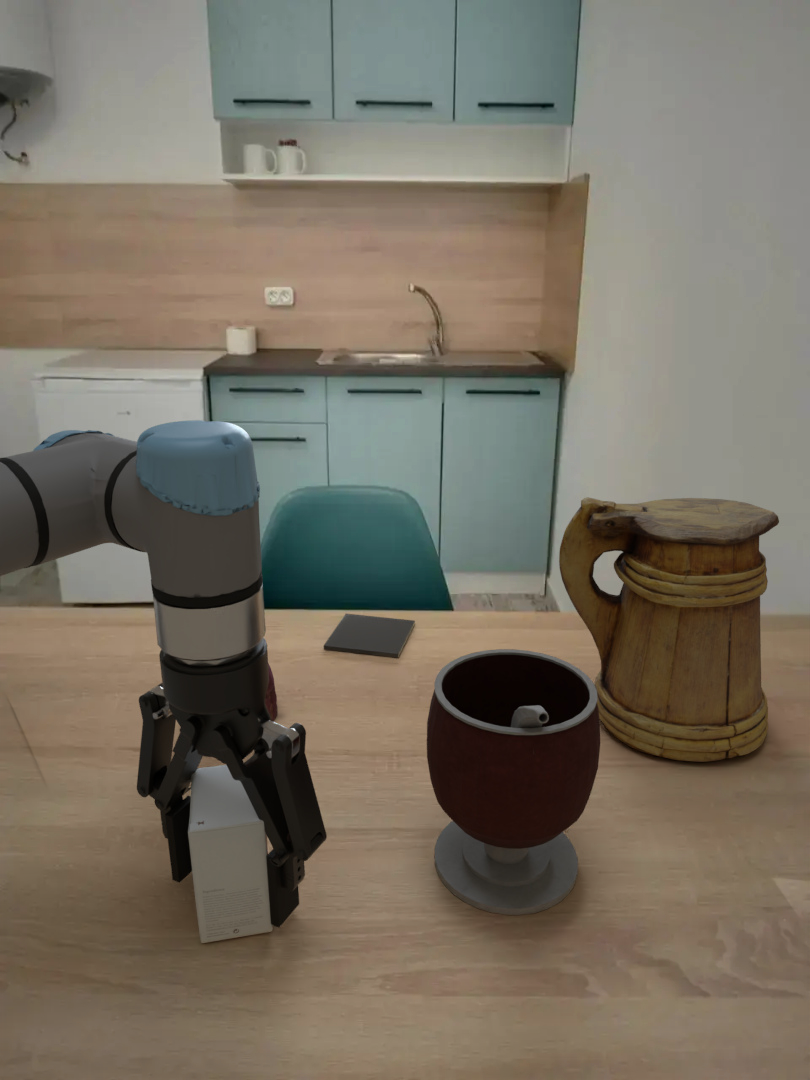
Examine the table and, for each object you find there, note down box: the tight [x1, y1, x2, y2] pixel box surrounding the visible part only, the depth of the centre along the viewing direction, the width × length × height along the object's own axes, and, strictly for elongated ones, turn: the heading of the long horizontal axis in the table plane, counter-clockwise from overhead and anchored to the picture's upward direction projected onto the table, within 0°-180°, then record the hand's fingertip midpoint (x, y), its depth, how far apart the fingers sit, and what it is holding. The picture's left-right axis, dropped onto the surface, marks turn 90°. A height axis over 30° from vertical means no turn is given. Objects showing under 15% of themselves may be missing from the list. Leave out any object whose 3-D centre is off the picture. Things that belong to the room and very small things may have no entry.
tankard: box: [558, 497, 780, 763], centre depth 89 cm, size 18×24×25 cm
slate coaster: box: [323, 613, 416, 659], centre depth 111 cm, size 10×10×1 cm
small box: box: [188, 764, 274, 944], centre depth 65 cm, size 8×6×10 cm
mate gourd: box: [426, 648, 601, 916], centre depth 67 cm, size 16×14×20 cm
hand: (234, 891), depth 67 cm, fingers closed on small box, 9 cm apart
